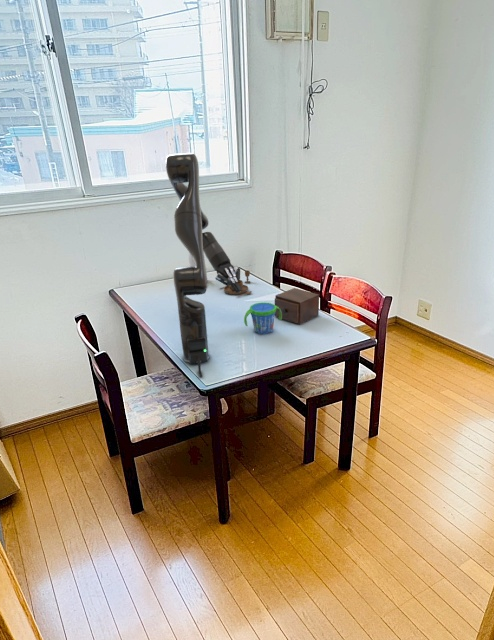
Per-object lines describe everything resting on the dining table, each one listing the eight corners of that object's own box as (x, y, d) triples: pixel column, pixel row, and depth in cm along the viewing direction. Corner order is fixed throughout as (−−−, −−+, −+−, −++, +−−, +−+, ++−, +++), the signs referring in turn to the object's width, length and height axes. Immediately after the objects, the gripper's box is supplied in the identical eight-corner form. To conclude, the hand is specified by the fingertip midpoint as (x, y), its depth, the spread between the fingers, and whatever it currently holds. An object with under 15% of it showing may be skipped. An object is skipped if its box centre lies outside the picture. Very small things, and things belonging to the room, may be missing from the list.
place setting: (215, 289, 246) (214, 278, 243) (247, 281, 256) (247, 269, 253) (236, 298, 234) (236, 286, 231) (269, 289, 245) (269, 277, 242)
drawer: (295, 324, 204) (295, 306, 200) (272, 316, 211) (272, 299, 207) (314, 315, 212) (314, 297, 208) (291, 308, 219) (292, 291, 215)
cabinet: (300, 324, 206) (300, 302, 201) (275, 316, 214) (275, 295, 209) (318, 315, 214) (319, 294, 209) (294, 308, 221) (294, 287, 216)
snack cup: (248, 338, 195) (247, 314, 189) (241, 328, 203) (240, 304, 198) (285, 333, 198) (285, 309, 193) (278, 323, 207) (277, 300, 202)
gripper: (208, 254, 196) (231, 290, 195) (232, 247, 204) (255, 282, 203) (200, 265, 201) (223, 300, 201) (224, 258, 210) (246, 292, 209)
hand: (239, 291), depth 202 cm, fingers closed
